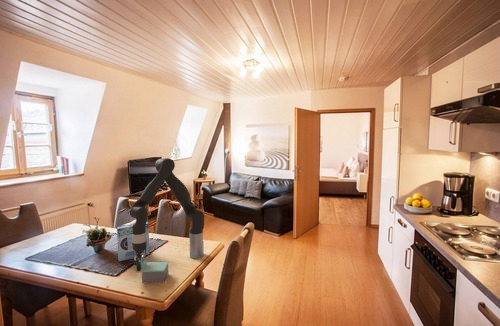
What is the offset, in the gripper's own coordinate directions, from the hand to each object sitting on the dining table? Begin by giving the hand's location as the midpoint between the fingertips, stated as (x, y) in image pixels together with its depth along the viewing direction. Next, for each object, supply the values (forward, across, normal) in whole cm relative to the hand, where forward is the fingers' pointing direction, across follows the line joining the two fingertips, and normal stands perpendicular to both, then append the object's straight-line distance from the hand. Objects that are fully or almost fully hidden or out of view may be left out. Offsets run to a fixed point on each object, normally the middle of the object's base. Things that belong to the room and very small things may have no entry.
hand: (140, 268), depth 141 cm
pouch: (+7, +46, +24) cm, 53 cm away
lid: (-1, 0, -6) cm, 6 cm away
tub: (+6, 0, -9) cm, 11 cm away
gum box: (+7, +28, +15) cm, 33 cm away
